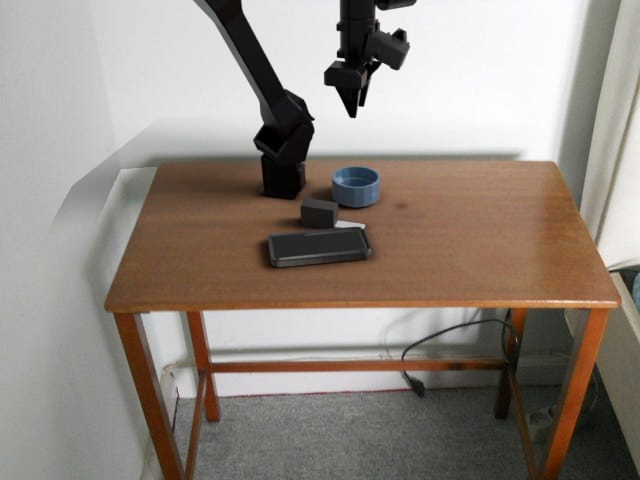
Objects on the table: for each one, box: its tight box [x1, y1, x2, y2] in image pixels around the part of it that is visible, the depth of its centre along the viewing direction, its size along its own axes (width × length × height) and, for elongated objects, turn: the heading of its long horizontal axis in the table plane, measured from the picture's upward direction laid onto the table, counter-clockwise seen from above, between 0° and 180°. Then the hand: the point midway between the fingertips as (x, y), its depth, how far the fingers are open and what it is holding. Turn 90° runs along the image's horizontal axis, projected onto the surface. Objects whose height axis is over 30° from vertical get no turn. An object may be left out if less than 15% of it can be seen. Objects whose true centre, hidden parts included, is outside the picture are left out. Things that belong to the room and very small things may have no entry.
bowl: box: [331, 165, 382, 209], centre depth 114 cm, size 8×8×4 cm
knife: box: [299, 197, 366, 230], centre depth 107 cm, size 10×3×4 cm, turn 75°
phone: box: [267, 227, 372, 268], centre depth 102 cm, size 8×1×15 cm
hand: (357, 112), depth 117 cm, fingers open, 5 cm apart
